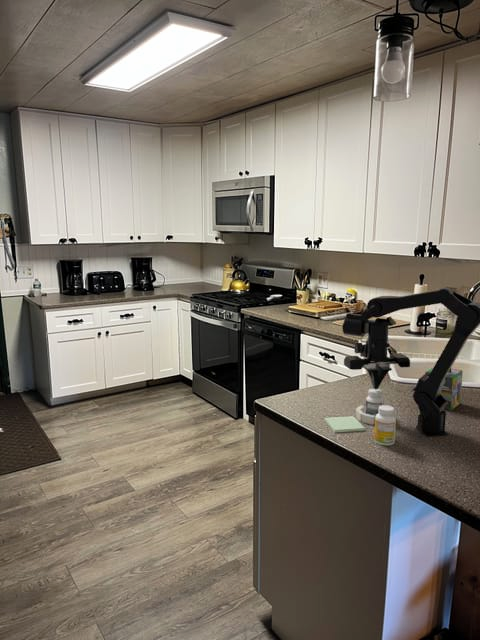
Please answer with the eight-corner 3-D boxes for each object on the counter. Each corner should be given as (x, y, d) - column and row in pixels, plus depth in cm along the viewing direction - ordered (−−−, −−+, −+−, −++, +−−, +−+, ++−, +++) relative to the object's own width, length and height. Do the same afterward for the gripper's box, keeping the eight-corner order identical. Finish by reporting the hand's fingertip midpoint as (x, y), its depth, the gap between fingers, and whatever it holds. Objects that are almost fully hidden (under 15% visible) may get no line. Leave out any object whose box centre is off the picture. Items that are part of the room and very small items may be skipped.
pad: (353, 418, 146) (353, 416, 146) (364, 430, 137) (364, 427, 137) (324, 420, 145) (324, 417, 144) (334, 432, 136) (334, 429, 136)
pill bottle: (369, 413, 150) (371, 386, 148) (385, 417, 147) (387, 389, 145) (362, 418, 146) (363, 390, 144) (378, 422, 143) (380, 394, 141)
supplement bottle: (379, 435, 134) (380, 402, 132) (398, 441, 130) (399, 407, 128) (370, 442, 130) (372, 408, 128) (390, 447, 126) (392, 412, 124)
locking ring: (383, 411, 152) (383, 404, 151) (397, 423, 142) (398, 415, 142) (351, 413, 150) (352, 405, 150) (364, 425, 141) (364, 417, 140)
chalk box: (461, 404, 158) (464, 360, 155) (451, 411, 151) (454, 366, 149) (433, 397, 164) (436, 355, 161) (422, 404, 158) (425, 361, 155)
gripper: (395, 332, 151) (392, 379, 154) (338, 334, 148) (336, 382, 151) (412, 339, 140) (409, 390, 143) (351, 342, 137) (349, 394, 140)
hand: (375, 389), depth 145 cm, fingers closed
